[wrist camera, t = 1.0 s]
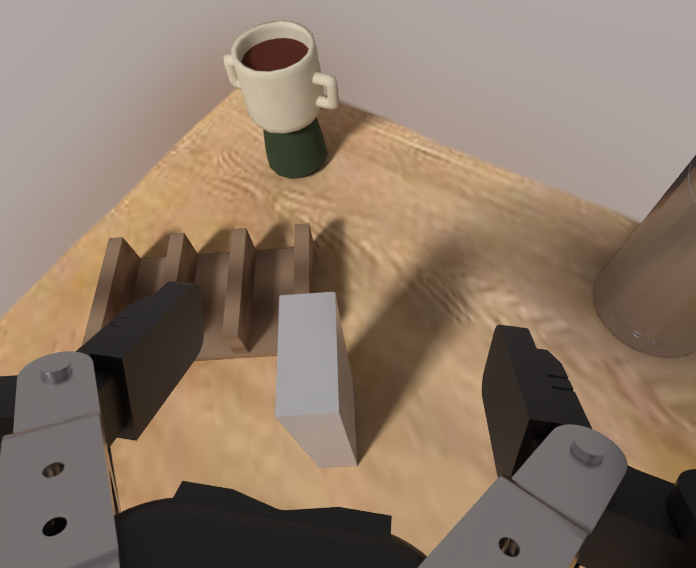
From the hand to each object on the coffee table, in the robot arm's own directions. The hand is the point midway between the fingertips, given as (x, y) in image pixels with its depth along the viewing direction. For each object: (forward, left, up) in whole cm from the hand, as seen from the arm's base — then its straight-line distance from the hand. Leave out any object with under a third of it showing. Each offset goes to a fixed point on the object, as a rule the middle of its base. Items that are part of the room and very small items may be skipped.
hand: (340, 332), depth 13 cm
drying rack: (0, -19, -25) cm, 31 cm away
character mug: (-17, -26, -25) cm, 40 cm away
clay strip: (0, -4, -25) cm, 25 cm away
